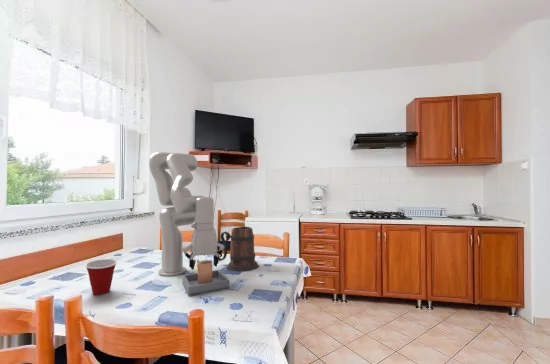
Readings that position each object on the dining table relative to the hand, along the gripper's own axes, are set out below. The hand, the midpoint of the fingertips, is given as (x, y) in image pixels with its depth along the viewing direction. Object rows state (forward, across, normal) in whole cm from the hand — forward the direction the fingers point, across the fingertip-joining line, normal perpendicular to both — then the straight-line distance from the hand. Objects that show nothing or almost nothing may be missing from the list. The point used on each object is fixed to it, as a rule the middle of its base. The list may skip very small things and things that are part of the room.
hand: (203, 267), depth 115 cm
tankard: (+8, +21, +20) cm, 30 cm away
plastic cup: (+9, -38, +12) cm, 40 cm away
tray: (+8, 0, -1) cm, 8 cm away
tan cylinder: (+7, 0, -1) cm, 7 cm away
